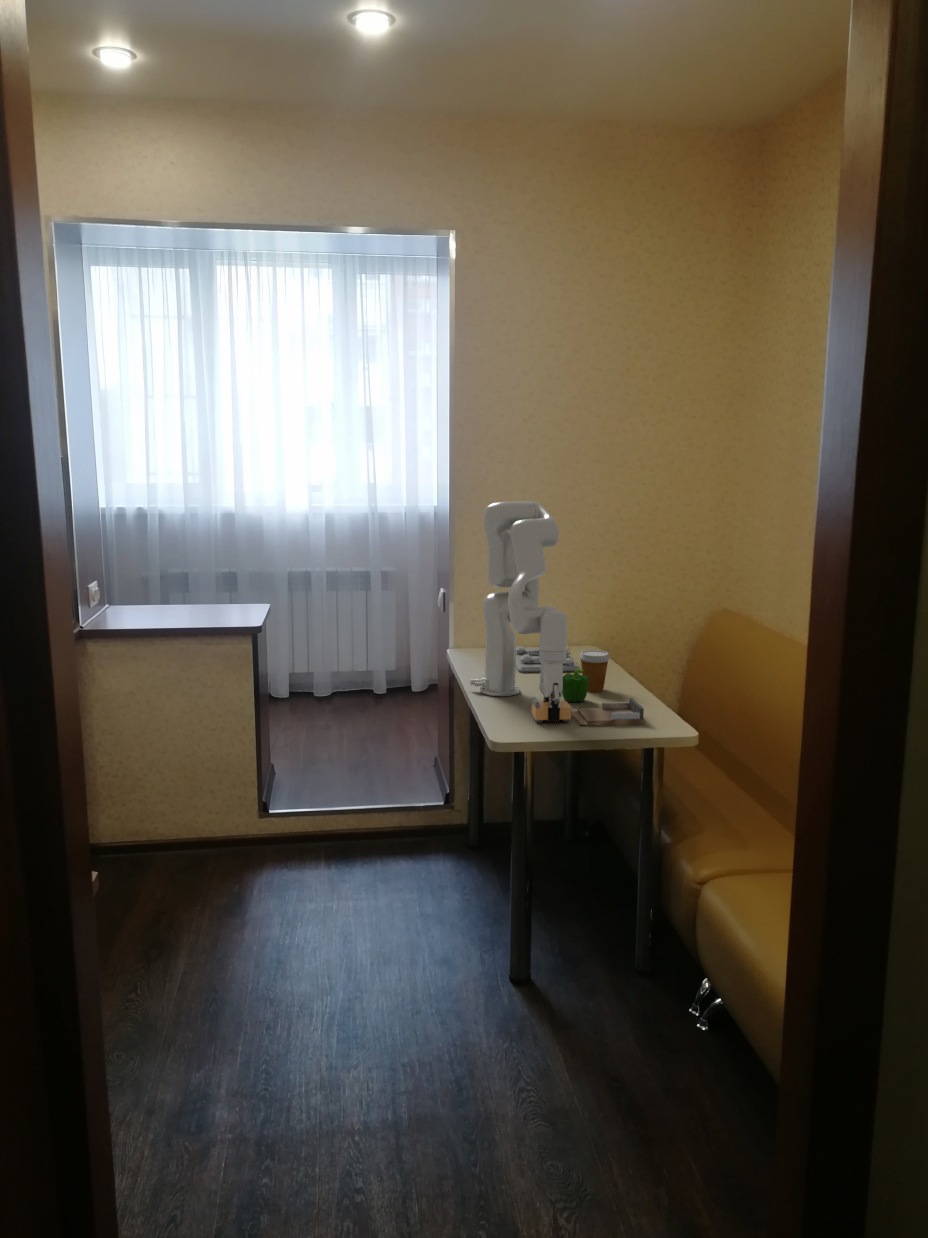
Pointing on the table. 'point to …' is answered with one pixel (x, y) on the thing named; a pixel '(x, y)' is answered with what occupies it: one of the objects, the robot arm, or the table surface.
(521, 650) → the decorative plate
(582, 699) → the bell pepper
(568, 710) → the orange block
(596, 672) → the disposable coffee cup
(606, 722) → the loading dock
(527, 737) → the table surface
